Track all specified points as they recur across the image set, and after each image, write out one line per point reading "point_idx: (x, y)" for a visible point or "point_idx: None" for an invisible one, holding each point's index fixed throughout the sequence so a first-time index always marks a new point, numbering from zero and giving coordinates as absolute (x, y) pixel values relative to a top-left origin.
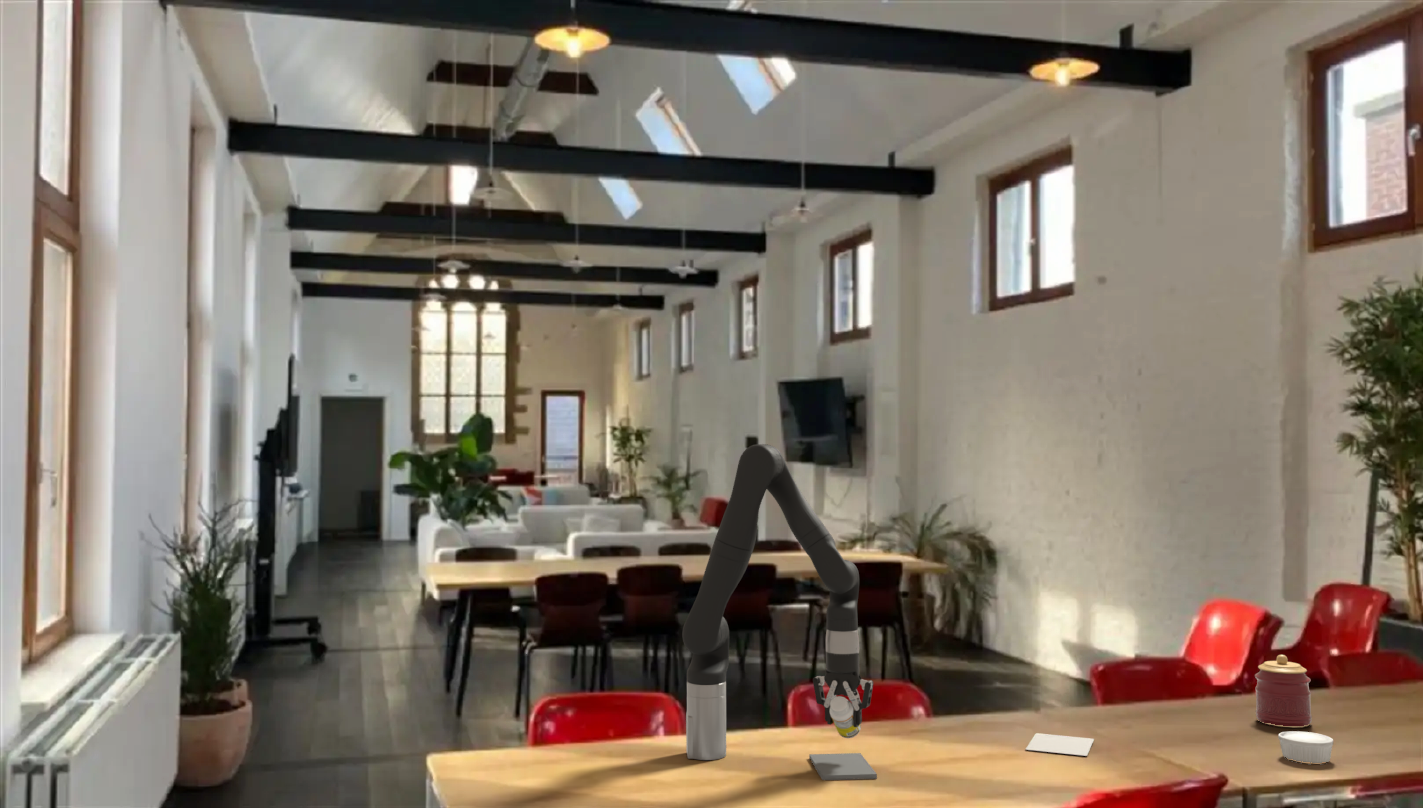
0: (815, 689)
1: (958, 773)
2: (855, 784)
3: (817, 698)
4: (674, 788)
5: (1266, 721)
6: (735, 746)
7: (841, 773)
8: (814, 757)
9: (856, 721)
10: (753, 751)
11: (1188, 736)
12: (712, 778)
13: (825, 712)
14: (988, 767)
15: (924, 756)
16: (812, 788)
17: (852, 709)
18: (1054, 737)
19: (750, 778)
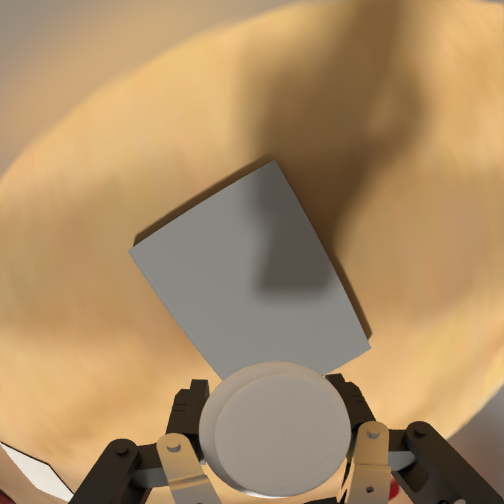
0: (466, 469)
1: (29, 353)
2: (166, 165)
3: (434, 439)
4: (493, 36)
5: (5, 498)
6: (496, 336)
7: (224, 207)
8: (353, 330)
9: (189, 395)
10: (474, 326)
11: (9, 485)
12: (488, 101)
13: (366, 408)
14: (24, 395)
15: (131, 437)
16: (270, 76)
17: (201, 437)
18: (62, 495)
19: (440, 116)
